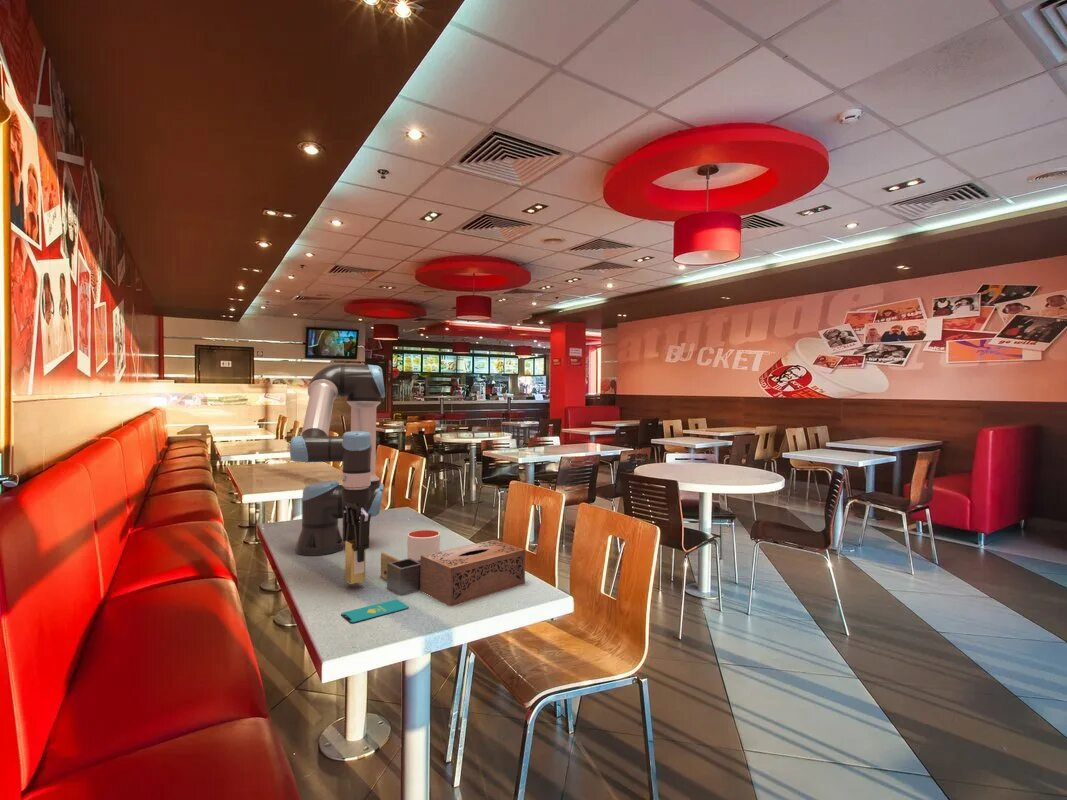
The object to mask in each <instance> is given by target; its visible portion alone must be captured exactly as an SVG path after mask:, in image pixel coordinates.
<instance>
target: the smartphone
mask: <svg viewBox="0 0 1067 800" xmlns="http://www.w3.org/2000/svg"><path fill="white" fill-rule="evenodd" d="M409 609H410V608H409V606H408V605H407V604H405V603H404V602H402V601H400V600H399V599H391V600H388V601H385V602H380V603H379V602H378V603H375V604H371V605H367V606H363V607H360V608H355V609H352V610H348V611H343V612H341V613H340V616H341V617H342V618H343V619H344V620H345V621H347V622H348V623H349V624H351V625H352V624H353V625H354V624H359V623H362V622H366V621H369V620H374V619H376V618H380V617H384V616H389V615H390V614H395V613H399V612H402V611H405V610H409Z"/></svg>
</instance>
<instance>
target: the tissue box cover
mask: <svg viewBox="0 0 1067 800" xmlns="http://www.w3.org/2000/svg"><path fill="white" fill-rule="evenodd" d="M525 572H526V549H524V548H521V547H518V546H514V545H511V544H508V543H505V542H502V541H500V540H496V539H491V540H485V541H482V542H478V543H472V544H469V545H468V544H467V545H462V546H459V547H454V548H450V549H449V548H448V549H445V550H440V551H439V552H435V553H430V554H426V555H421V565H420V590H419V591H420V592H421V593H423V592H424V593H423V594H425V593H426V594H425V595H427V594H428V595H427V596H429V595H430V596H429V597H431V596H432V597H431V598H433V599H434V600H438V601H439V602H441V603H443V604H445V605H447V606H449V607H453V606H456V605H459V604H463V603H466V602H468V601H472V600H475V599H479V598H482V597H486V596H489V595H492V594H495V593H498V592H502V591H505V590H509V589H512V588H515V587H518V586H522V585H525V582H526V581H525V580H526V573H525Z"/></svg>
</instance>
